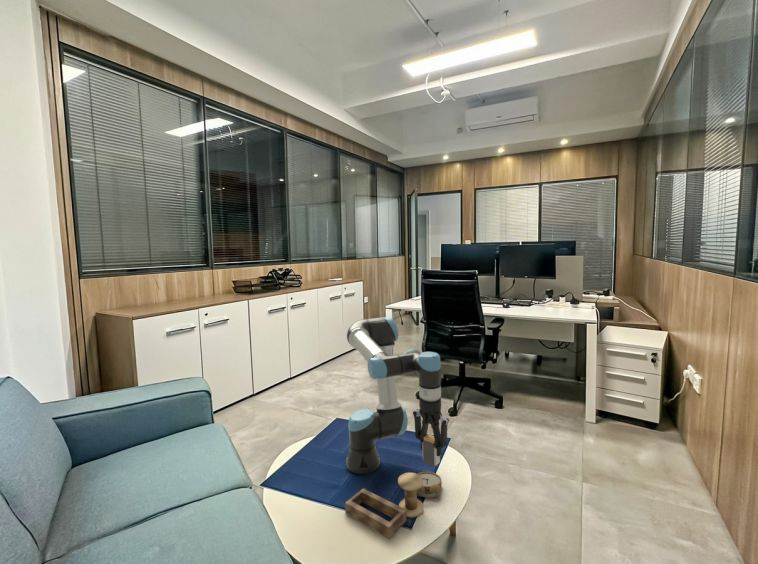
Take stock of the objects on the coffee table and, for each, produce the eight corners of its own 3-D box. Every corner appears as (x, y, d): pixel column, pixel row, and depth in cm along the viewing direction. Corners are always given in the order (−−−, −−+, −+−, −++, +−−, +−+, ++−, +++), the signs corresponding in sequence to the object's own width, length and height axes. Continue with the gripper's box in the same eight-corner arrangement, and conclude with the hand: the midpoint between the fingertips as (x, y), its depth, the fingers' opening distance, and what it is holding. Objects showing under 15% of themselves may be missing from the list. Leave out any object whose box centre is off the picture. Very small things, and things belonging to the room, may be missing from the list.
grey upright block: (429, 457, 130) (428, 433, 129) (438, 461, 127) (438, 436, 127) (423, 462, 127) (422, 437, 126) (433, 466, 124) (432, 441, 124)
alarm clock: (441, 472, 149) (442, 488, 135) (441, 484, 149) (442, 502, 134) (413, 470, 151) (411, 487, 136) (414, 483, 150) (412, 500, 136)
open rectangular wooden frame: (345, 513, 131) (345, 502, 131) (363, 498, 139) (363, 488, 139) (389, 538, 119) (388, 527, 118) (406, 520, 126) (406, 509, 126)
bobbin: (394, 510, 132) (393, 481, 131) (407, 497, 139) (407, 469, 138) (414, 521, 126) (413, 491, 125) (428, 506, 133) (427, 478, 132)
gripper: (403, 395, 128) (405, 457, 130) (446, 407, 117) (447, 475, 119) (415, 388, 133) (416, 448, 135) (457, 399, 123) (458, 464, 125)
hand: (431, 461), depth 127 cm, fingers closed on grey upright block, 4 cm apart
